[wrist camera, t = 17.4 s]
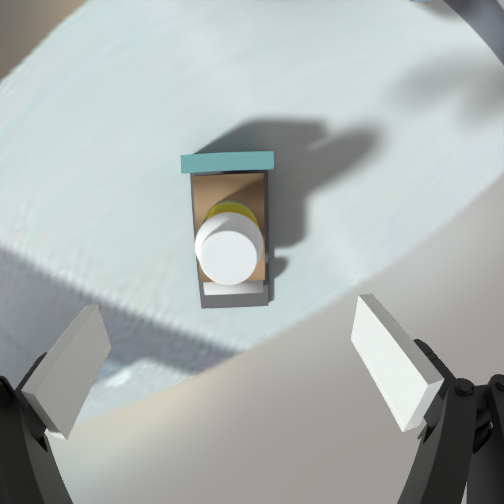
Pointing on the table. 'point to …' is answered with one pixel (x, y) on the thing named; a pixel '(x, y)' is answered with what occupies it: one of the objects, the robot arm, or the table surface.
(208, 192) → the slab
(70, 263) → the table surface
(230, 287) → the roller bed
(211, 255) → the pill bottle
